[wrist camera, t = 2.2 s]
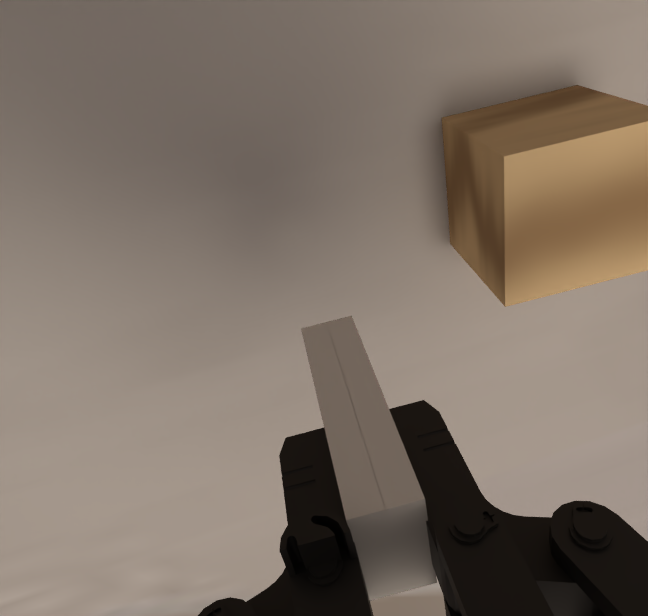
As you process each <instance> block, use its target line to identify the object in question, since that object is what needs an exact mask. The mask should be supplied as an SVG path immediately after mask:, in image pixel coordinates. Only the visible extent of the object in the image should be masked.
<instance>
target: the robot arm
mask: <svg viewBox="0 0 648 616" xmlns="http://www.w3.org/2000/svg"><path fill="white" fill-rule="evenodd" d="M301 330H302V335H303V339H304V343H305V347H306V352H307V356H308V360H309V364H310V369H311V373H312V377H313V381H314V386H315V390H316V394H317V398H318V403H319V407H320V411H321V415H322V420H323V424H324V428H321V429H317V430H313V431H310V432H306V433H302V434H298V435H294V436H291V437H287V438H285V441H284V444H283V447H282V450H281V452H280V455H279V456H280V464H281V472H282V481H283V488H284V497H285V505H286V513H287V521H288V526H287V527H286V529H285V531H284V533H283V535H282V537H281V542H280V553H281V555H282V558H283V561H284V563H285V566H286V568H285V570H284V572H283V573H282V575H281V576H280V577H279V578H278V579H277V581H276V582H275V583H273V584H272V585H271V586H270V587H268V588H267V589H266V590H264V591H263V592H261V593H259V594H258V595H256V596H255V597H253V598H252V599H250V600H249V601H247V602H245V601H244V600H242V599H236V598H231V597H230V598H226V599H221V600H217V601H215V602H214V603H212V604H211V605H209V606H207V607H206V608H204V609H203V610H202V612H201V613H200V614H199V615H198V616H373V612H372V608H371V604H370V601H372V600H375V599H379V598H383V597H386V596H390V595H393V594H397V593H401V592H404V591H408V590H411V589H415V588H419V587H422V586H426V585H429V584H433V583H437V579H438V581H439V584H440V587H441V590H442V592H443V595H444V602H445V609H446V616H648V541H646V540H645V539H644V538H643V537H642V536H641V535H640V534H639V533H637V532H636V531H635V530H634V529H633V528H632V527H631V526H630V525H628V524H627V523H626V522H625V521H624V520H623V519H622V518H621V517H620V516H618V515H617V514H616V513H614V512H613V511H611V510H610V509H608V508H606V507H605V506H602V505H599V504H596V503H593V502H590V501H573V502H570V503H567V504H563V505H561V506H560V507H559V508H558V509H557V510H556V511H555V512H554V513H553V516H552V518H549V517H524V516H516V515H512V514H509V513H506V512H503V511H501V510H499V509H498V508H496V507H494V506H493V505H492V504H490V503H489V502H488V501H487V500H486V499H485V498H484V496H483V495H482V493H481V492H480V490H479V488H478V486H477V484H476V482H475V480H474V478H473V476H472V474H471V473H470V471H469V469H468V467H467V465H466V463H465V461H464V459H463V457H462V455H461V453H460V451H459V449H458V447H457V446H456V444H455V443H454V440H453V438H452V436H451V434H450V432H449V431H448V429H447V426H446V424H445V422H444V420H443V418H442V417H441V415H440V413H439V411H437V410H436V409H435V408H433V407H432V406H431V405H430V404H428V403H427V402H426V401H424V400H422V401H418V402H415V403H411V404H407V405H403V406H399V407H396V408H392V409H389V408H388V405H387V403H386V400H385V398H384V395H383V393H382V390H381V388H380V385H379V383H378V380H377V378H376V375H375V373H374V370H373V368H372V365H371V363H370V360H369V358H368V355H367V353H366V350H365V348H364V345H363V343H362V340H361V338H360V335H359V333H358V331H357V328H356V326H355V323H354V321H353V318H352V316H349V317H345V318H341V319H337V320H333V321H329V322H325V323H321V324H317V325H313V326H310V327H306V328H302V329H301ZM436 576H437V579H436Z"/></svg>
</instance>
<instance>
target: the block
mask: <svg viewBox="0 0 648 616" xmlns="http://www.w3.org/2000/svg"><path fill="white" fill-rule="evenodd" d="M442 129H443V143H444V158H445V172H446V187H447V201H448V216H449V230H450V244H451V245H452V246H453V247H454V249H455V250H456V251H457V252H458V253H459V254H460V255H461V257H462V258H463V259H464V260H465V261H466V262H467V263H468V265H469V266H470V267H471V268H472V269H473V270H474V271H475V273H476V274H477V275H478V276H479V277H480V278H481V280H482V281H483V282H484V283H485V284H486V285H487V286H488V288H489V289H490V290H491V291H492V292H493V293H494V294H495V296H496V297H497V298H498V299H499V300H500V301H501V302H502V304H503V305H504V306H505V307H506V306H510V305H514V304H518V303H522V302H525V301H529V300H533V299H537V298H541V297H545V296H549V295H553V294H557V293H561V292H565V291H568V290H572V289H576V288H580V287H584V286H588V285H592V284H596V283H600V282H604V281H608V280H611V279H615V278H619V277H623V276H627V275H631V274H635V273H639V272H643V271H647V270H648V106H647V105H643V104H640V103H636V102H633V101H630V100H626V99H623V98H619V97H616V96H612V95H609V94H606V93H602V92H599V91H595V90H592V89H589V88H585V87H582V86H578V85H576V86H571V87H567V88H563V89H559V90H555V91H551V92H547V93H542V94H538V95H534V96H530V97H526V98H522V99H518V100H513V101H509V102H505V103H501V104H497V105H493V106H489V107H484V108H480V109H476V110H472V111H468V112H464V113H460V114H455V115H451V116H447V117H443V118H442Z"/></svg>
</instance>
